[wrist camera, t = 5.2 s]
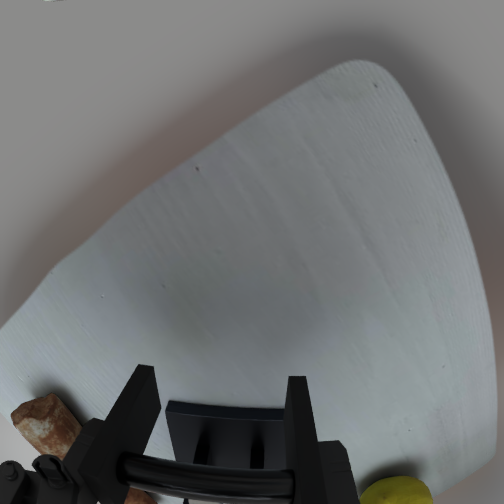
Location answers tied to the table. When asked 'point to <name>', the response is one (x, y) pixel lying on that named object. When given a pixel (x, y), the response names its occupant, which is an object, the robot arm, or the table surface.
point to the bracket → (227, 436)
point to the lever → (206, 481)
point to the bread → (57, 433)
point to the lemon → (397, 491)
